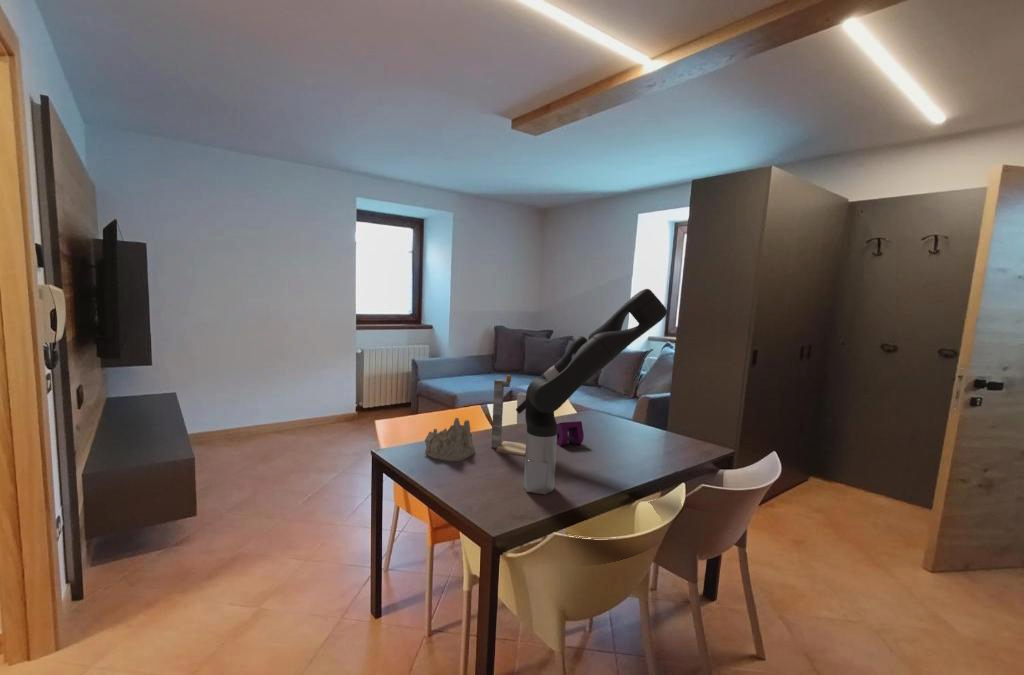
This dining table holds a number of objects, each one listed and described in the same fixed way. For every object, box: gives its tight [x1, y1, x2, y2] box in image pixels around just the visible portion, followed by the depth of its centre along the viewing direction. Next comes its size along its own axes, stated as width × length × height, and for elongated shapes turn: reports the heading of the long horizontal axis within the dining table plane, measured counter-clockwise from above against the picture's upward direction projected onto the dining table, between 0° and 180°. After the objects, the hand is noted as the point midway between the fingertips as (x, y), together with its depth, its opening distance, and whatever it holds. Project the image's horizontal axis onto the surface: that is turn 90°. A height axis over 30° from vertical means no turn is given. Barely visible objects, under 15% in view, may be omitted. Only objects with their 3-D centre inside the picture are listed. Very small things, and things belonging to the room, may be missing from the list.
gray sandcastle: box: [424, 417, 476, 462], centre depth 160 cm, size 16×16×15 cm
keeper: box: [490, 374, 526, 457], centre depth 167 cm, size 11×14×28 cm
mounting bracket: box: [556, 420, 585, 446], centre depth 181 cm, size 9×8×18 cm
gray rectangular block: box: [516, 392, 527, 425], centre depth 166 cm, size 4×4×11 cm
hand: (518, 409), depth 166 cm, fingers closed on gray rectangular block, 4 cm apart
